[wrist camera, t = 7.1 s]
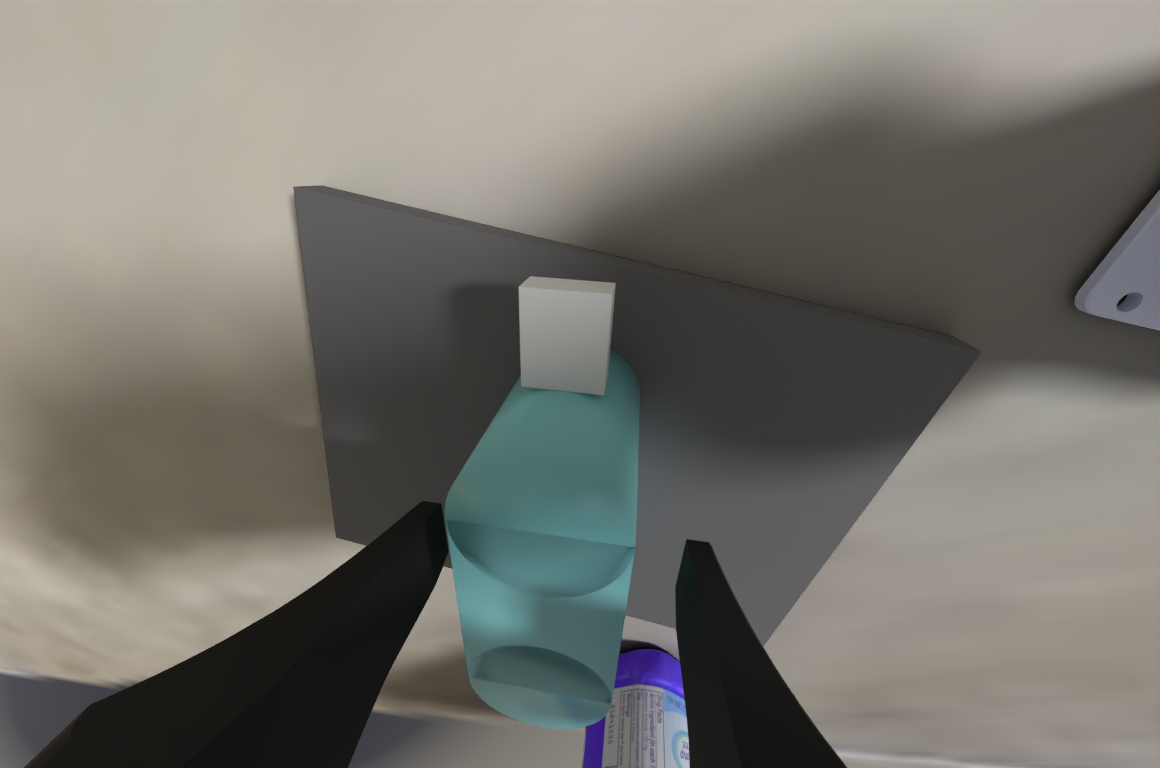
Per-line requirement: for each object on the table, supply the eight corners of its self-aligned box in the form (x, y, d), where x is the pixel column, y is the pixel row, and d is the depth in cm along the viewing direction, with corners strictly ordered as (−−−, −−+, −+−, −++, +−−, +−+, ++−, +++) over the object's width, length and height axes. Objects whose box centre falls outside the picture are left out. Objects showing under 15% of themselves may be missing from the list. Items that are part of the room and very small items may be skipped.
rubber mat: (952, 336, 12) (981, 351, 11) (753, 625, 19) (759, 651, 18) (322, 185, 13) (293, 186, 12) (352, 518, 20) (336, 537, 19)
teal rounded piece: (657, 264, 11) (666, 342, 6) (618, 566, 17) (606, 739, 12) (518, 254, 12) (415, 319, 7) (525, 551, 18) (474, 713, 12)
